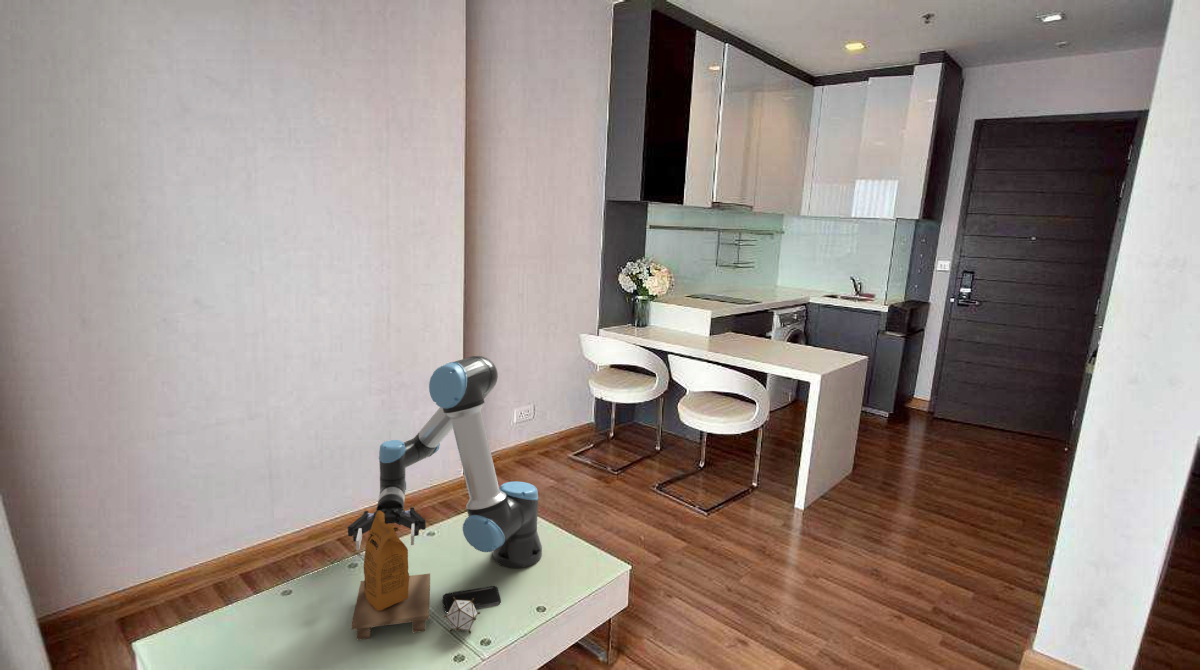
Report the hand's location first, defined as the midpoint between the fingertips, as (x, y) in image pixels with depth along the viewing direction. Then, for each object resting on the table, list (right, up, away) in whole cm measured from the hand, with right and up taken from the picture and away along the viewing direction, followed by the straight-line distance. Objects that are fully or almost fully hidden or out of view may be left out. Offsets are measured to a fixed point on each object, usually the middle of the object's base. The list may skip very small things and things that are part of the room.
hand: (385, 543), depth 153 cm
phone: (+22, -18, +6) cm, 29 cm away
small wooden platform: (+3, -18, -1) cm, 19 cm away
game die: (+21, -20, -5) cm, 30 cm away
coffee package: (+1, -13, -2) cm, 14 cm away
